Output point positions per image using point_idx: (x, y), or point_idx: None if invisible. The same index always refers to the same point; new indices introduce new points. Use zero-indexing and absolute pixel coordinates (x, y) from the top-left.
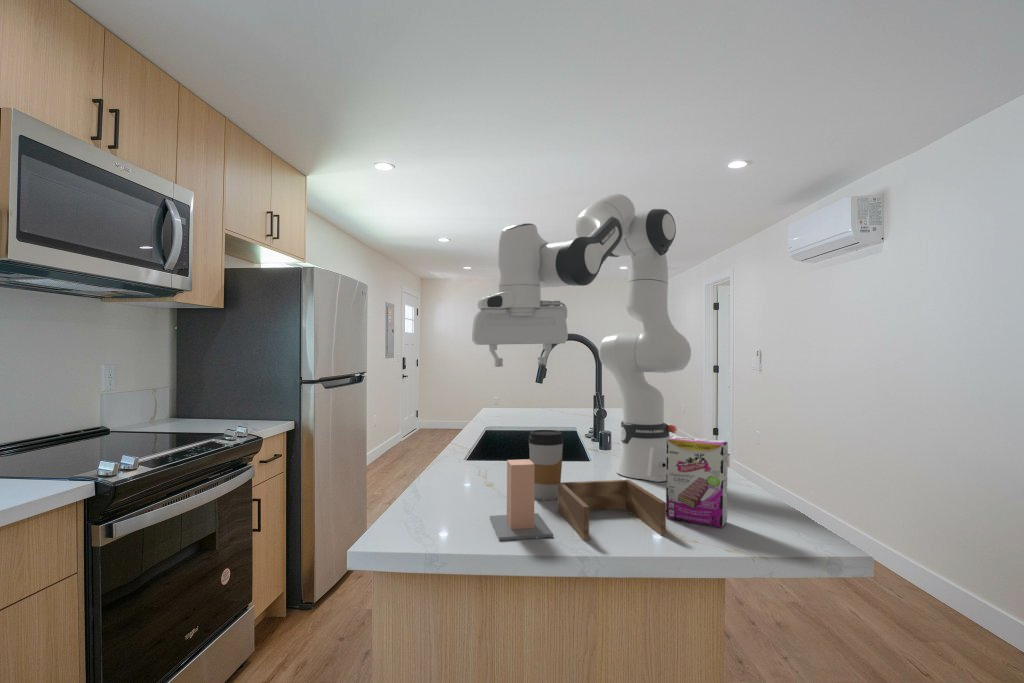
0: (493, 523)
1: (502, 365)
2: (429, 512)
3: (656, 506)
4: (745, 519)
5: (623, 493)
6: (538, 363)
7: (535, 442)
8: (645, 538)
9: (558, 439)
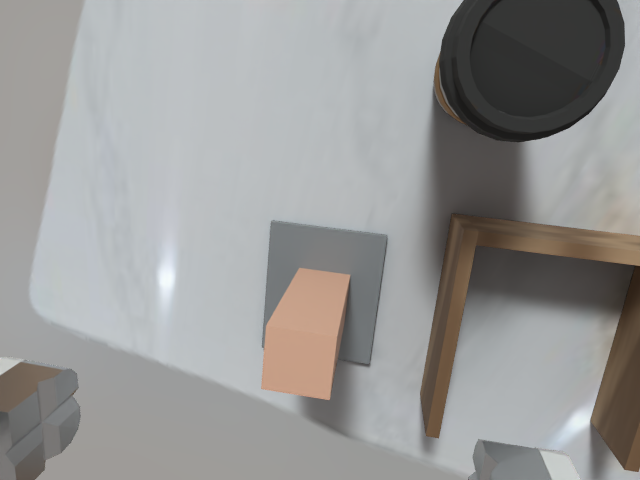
0: (268, 272)
1: (71, 436)
2: (143, 133)
3: (622, 439)
4: None
5: None
6: (476, 467)
7: (453, 105)
8: (547, 422)
9: (559, 131)
